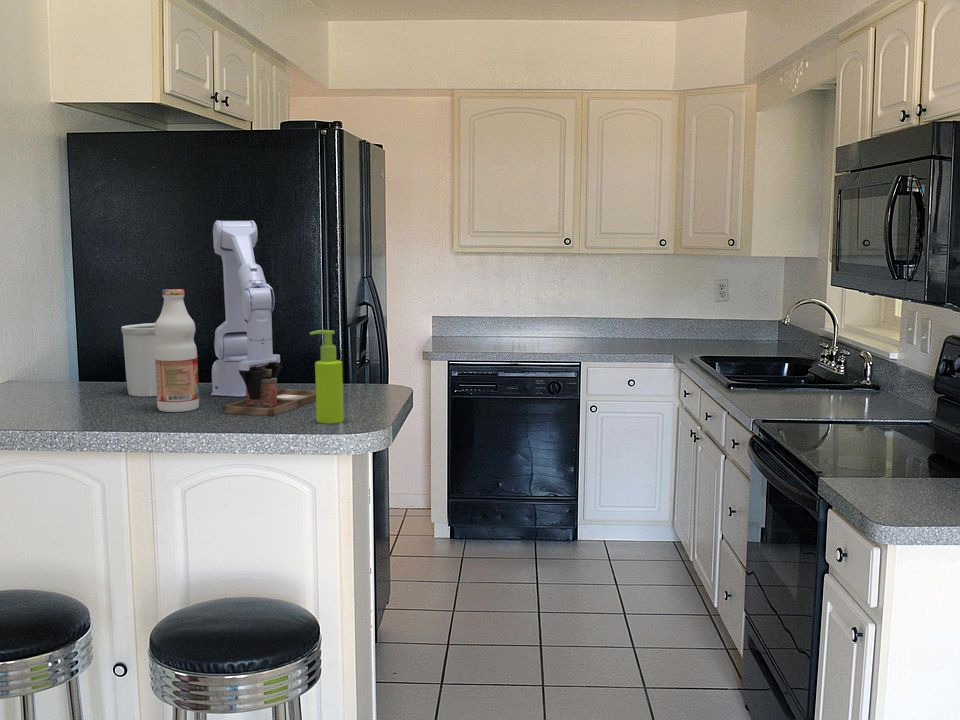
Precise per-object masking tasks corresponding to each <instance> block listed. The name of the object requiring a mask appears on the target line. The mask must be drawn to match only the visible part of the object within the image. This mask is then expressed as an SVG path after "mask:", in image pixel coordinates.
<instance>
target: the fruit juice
mask: <svg viewBox="0 0 960 720" xmlns="http://www.w3.org/2000/svg"><path fill="white" fill-rule="evenodd" d="M161 293H162V298H163V305H162V308H161V312H160V315H159V316H158V318H157V319H156V321H155V322H154V323H155V328H154V330H155V335H156V338H157V344H156V347H155V365H156V387H157V396H156V405H157V409H158V411H160V412H163V413H166V412H167V413H183V412H191V411H193V410H194V411H195V410H197V409H199V406H200V392H199V390H200V389H199V367H198V349H197V345H196V343H195V340H194V339H195V334H196V323H195V321H194V319H192V317H191V316H190V315H189V312H188V310H187V308H186V305H185V301H184V298H185V290H184V289H182V288H181V289H180V288H177V289H175V288H171V289H162V292H161Z"/></svg>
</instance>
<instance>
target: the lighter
mask: <svg viewBox="0 0 960 720" xmlns="http://www.w3.org/2000/svg"><path fill="white" fill-rule="evenodd" d="M257 369H258V370H263V371H264V374H263V376H262V380H261V387H260V398H259V400H252V399H250V397H249V394H248V390H247V387H246V396H245V399H246V401H247V405H246V407H253V408H269V409H271V408H273V407H276V406H277V390H278V389H277V388H278V387H277V382H278V377H277V378H271V375H272V369H266V368H265V367H260V368H257Z"/></svg>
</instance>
